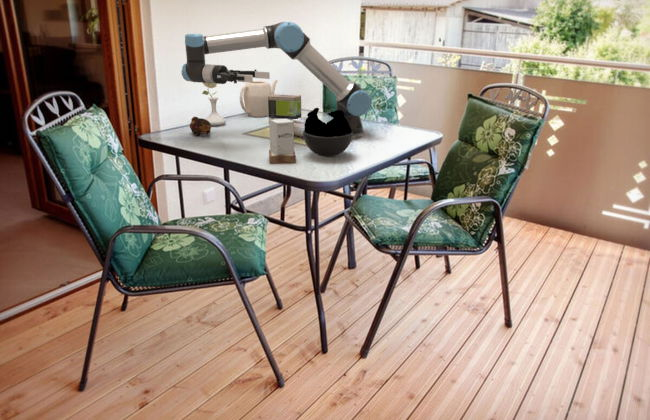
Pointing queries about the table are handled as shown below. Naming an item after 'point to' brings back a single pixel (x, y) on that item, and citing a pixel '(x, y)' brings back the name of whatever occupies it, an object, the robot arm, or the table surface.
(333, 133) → the bowl of black rocks
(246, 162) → the table surface
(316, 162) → the table surface
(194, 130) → the painted clay ocarina
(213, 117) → the flower in vase
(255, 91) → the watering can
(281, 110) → the tea box
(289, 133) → the supplement box
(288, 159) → the walnut base
